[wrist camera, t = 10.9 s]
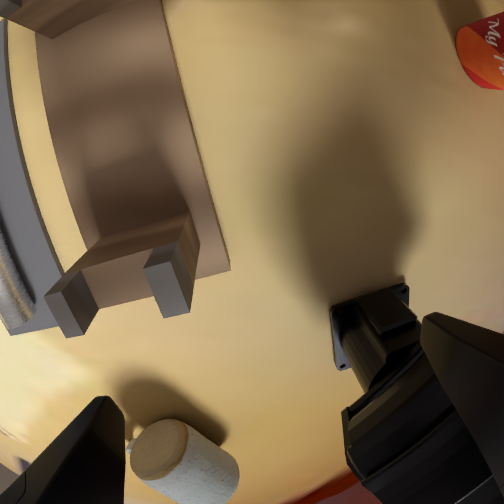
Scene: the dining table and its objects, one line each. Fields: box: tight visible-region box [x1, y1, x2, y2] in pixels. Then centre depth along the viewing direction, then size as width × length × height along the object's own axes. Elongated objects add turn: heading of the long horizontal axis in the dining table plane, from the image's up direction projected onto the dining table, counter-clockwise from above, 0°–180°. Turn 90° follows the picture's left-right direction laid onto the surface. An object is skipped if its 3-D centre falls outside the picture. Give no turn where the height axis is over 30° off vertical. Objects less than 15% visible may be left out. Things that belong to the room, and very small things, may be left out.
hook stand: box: [0, 0, 231, 338], centre depth 11 cm, size 21×8×8 cm, turn 14°
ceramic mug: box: [126, 419, 240, 504], centre depth 22 cm, size 11×8×8 cm
